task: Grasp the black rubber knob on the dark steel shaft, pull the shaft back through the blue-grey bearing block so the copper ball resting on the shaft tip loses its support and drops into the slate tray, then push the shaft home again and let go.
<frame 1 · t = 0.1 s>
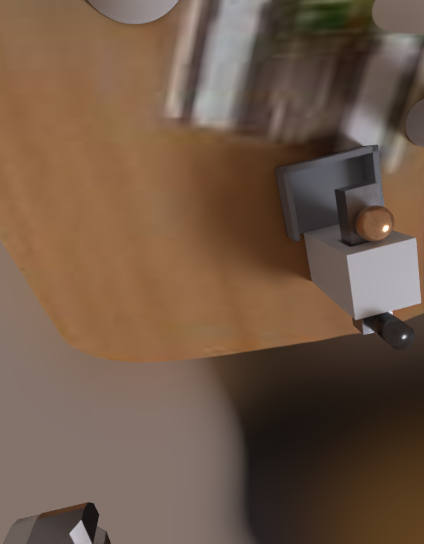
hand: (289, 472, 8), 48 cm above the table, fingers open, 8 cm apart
copper ball: (374, 223, 42), point 14 cm above the table, touching shaft
shaft: (376, 265, 44), point 13 cm above the table, slide at 0.0 cm, touching copper ball
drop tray: (324, 192, 55), on the table
bearing block: (333, 250, 57), on the table
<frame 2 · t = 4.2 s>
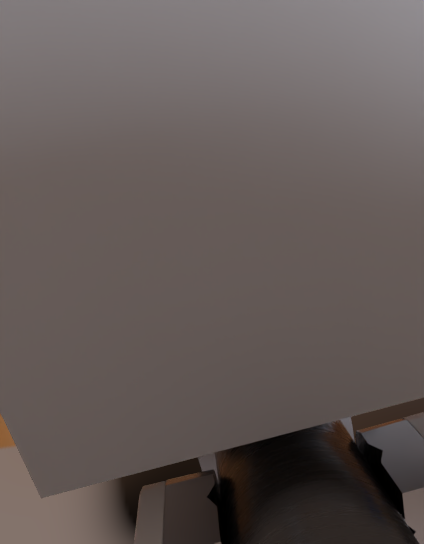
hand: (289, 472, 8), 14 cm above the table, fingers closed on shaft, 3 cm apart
shaft: (203, 95, 6), point 13 cm above the table, slide at 0.0 cm, touching copper ball, gripper
bearing block: (192, 167, 19), on the table
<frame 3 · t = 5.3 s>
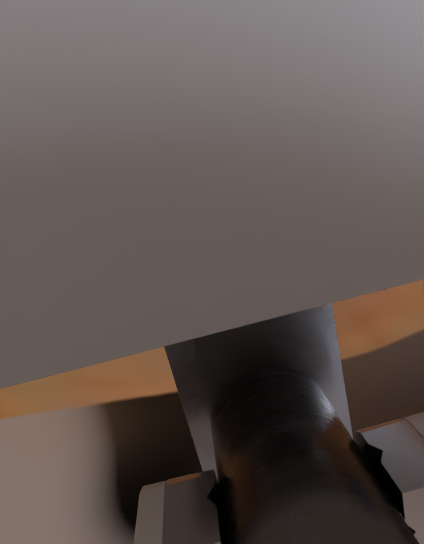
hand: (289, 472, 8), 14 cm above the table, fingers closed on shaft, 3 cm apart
shaft: (201, 95, 6), point 13 cm above the table, slide at 1.9 cm, touching gripper
bearing block: (182, 127, 19), on the table
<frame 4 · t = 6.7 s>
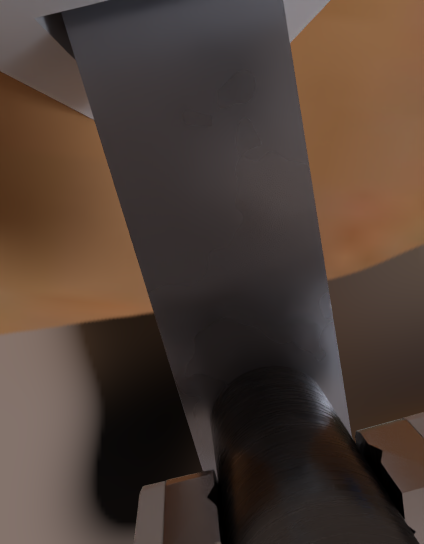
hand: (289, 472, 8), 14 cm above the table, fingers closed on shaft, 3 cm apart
shaft: (201, 95, 6), point 13 cm above the table, slide at 7.2 cm, touching gripper
bearing block: (151, 6, 17), on the table
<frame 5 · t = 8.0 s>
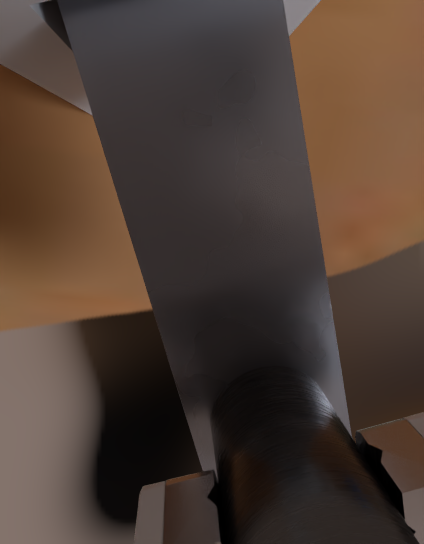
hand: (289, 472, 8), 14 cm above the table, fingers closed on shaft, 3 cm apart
shaft: (201, 95, 6), point 13 cm above the table, slide at 7.3 cm, touching gripper
bearing block: (150, 1, 17), on the table
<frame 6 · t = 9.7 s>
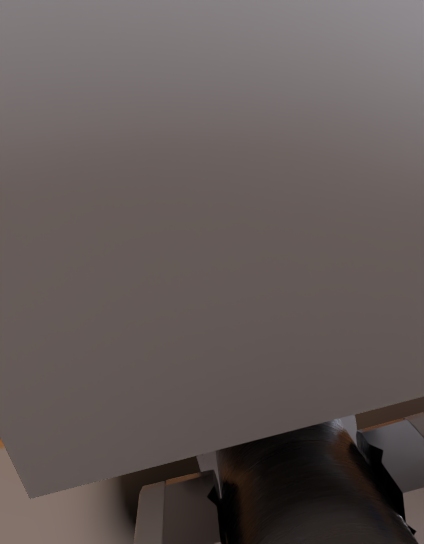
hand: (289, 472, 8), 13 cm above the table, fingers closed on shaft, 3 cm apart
shaft: (207, 96, 6), point 13 cm above the table, slide at 0.3 cm, touching gripper
bearing block: (192, 163, 19), on the table
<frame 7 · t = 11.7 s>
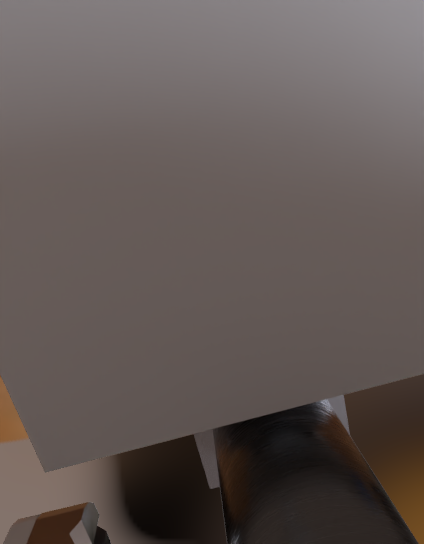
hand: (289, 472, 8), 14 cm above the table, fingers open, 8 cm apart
shaft: (203, 102, 6), point 13 cm above the table, slide at 0.2 cm
bearing block: (191, 164, 19), on the table
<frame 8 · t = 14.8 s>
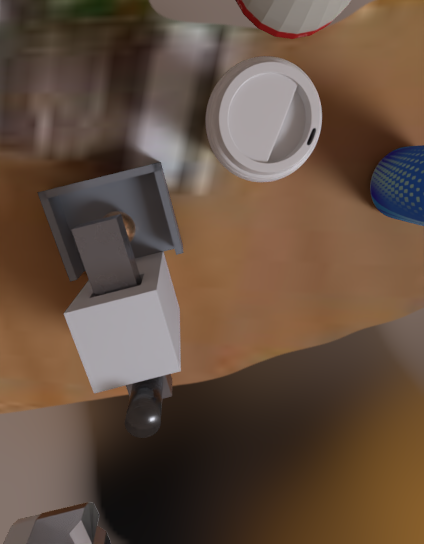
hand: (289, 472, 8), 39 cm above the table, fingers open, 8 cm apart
copper ball: (117, 229, 42), point 3 cm above the table, tilted 118°, touching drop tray
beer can: (397, 182, 47), on the table
coffee cup: (238, 133, 43), on the table
shaft: (123, 324, 34), point 13 cm above the table, slide at 0.2 cm
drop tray: (118, 218, 45), on the table
bearing block: (140, 288, 47), on the table
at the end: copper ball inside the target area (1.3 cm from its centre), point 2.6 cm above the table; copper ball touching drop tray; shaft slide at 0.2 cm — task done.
